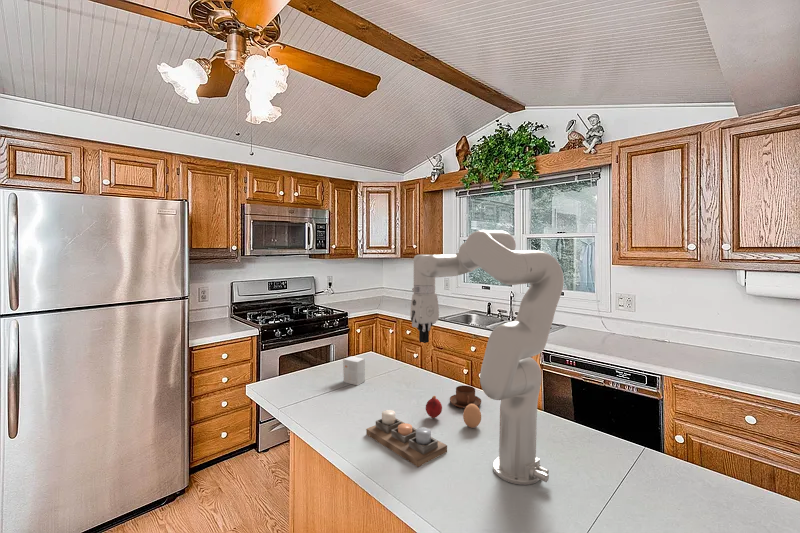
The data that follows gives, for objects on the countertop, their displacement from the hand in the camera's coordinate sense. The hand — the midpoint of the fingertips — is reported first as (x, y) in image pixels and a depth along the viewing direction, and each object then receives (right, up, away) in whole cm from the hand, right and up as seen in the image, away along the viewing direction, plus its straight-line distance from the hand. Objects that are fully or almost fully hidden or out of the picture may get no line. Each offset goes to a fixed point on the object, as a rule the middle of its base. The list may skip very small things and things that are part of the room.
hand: (423, 341), depth 136 cm
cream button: (-12, -24, -10) cm, 29 cm away
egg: (+16, -28, -6) cm, 32 cm away
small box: (-29, -25, +36) cm, 53 cm away
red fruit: (+4, -27, +1) cm, 28 cm away
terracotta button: (-7, -26, -16) cm, 31 cm away
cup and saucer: (+17, -27, +13) cm, 34 cm away
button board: (-7, -28, -16) cm, 33 cm away
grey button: (-2, -25, -22) cm, 33 cm away
